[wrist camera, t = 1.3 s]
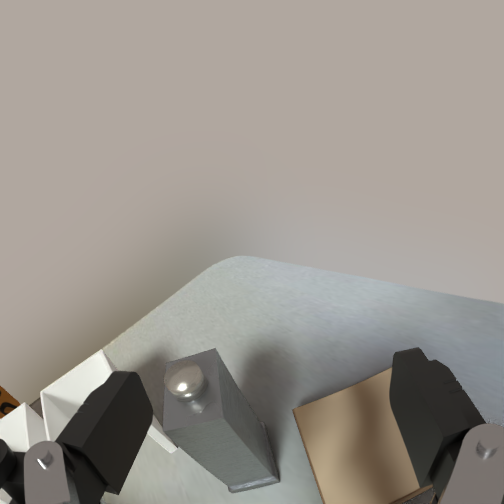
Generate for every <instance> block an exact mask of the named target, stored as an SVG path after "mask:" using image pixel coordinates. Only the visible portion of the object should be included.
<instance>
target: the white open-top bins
mask: <svg viewBox="0 0 504 504" xmlns="http://www.w3.org/2000/svg"><path fill="white" fill-rule="evenodd" d="M114 371H119V370H118V369H117V368H116V367H115V365H114V364H113V363H112V362H111V360H110V359H109V358H108V357H107V355H106V354H105V353H104V352H103V350H102V349H101V350H99V351H98V352H97V353H95V354H94V355H92V356H91V357H89V358H88V359H86V360H85V361H84V362H82V363H81V364H79V365H78V366H76V367H75V368H74V369H72V370H71V371H69V372H68V373H66V374H65V375H63V376H62V377H61V378H59V379H58V380H57V381H55V382H53V383H52V384H50V385H49V386H47V387H46V388H45V389H43V390H42V391H41V392H40V396H41V404H42V411H43V418H44V420H43V419H42V418H41V417H40V416H39V415H38V414H37V413H36V412H35V411H34V410H33V409H32V408H31V407H30V406H29V405H28V404H27V403H25V402H24V403H23V404H22V405H20V406H19V407H17V408H16V409H14V410H13V411H12V412H10V413H9V414H7V415H6V416H4V417H3V418H2V419H0V439H2V440H4V441H5V442H6V443H7V445H8V446H9V447H10V449H11V450H12V451H15V452H27V451H28V450H29V448H30V447H32V446H33V445H34V444H36V443H38V442H41V441H55V440H56V439H57V437H58V436H59V435H60V433H61V432H62V431H63V429H64V428H65V426H66V425H67V424H68V422H69V421H70V420H71V418H72V417H73V416H74V414H75V413H77V410H78V409H79V407H80V406H81V405H83V402H84V401H85V399H86V398H87V397H88V395H89V394H90V393H91V392H92V391H93V390H95V389H96V388H98V387H99V386H100V385H102V384H104V383H105V381H106V380H107V379H108V377H109V376H110V375H111V373H112V372H114ZM147 434H148V435H149V436H151V437H152V438H153V439H154V440H155V441H156V442H157V443H159V444H160V445H161V446H162V447H163V448H164V449H166V450H167V451H168V452H169V453H170V454H171V453H173V452H174V451H176V450H177V449H178V448H177V447H176V446H175V444H174V443H173V442H172V440H171V439H170V438H169V437H168V436H167V435H166V434H165V433H164V432H163V428H162V426H161V425H160V423H159V422H158V420H157V419H156V417H155V416H154V414H153V420H152V424H151V426H150V428H149V430H148V432H147ZM11 499H12V498H11V497H10V496H9V495H8V494H7V493H6V492H5V491H4V490H3V489H2V488H1V489H0V504H9V503H10V501H11Z"/></svg>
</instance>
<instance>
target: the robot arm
mask: <svg viewBox="0 0 504 504" xmlns="http://www.w3.org/2000/svg"><path fill="white" fill-rule="evenodd" d="M389 400H390V406H391V409H392V412H393V415H394V417H395V420H396V422H397V425H398V428H399V430H400V433H401V436H402V438H403V441H404V444H405V446H406V449H407V452H408V455H409V457H410V460H411V463H412V466H413V469H414V472H415V475H416V478H417V481H418V484H419V487H420V488H423V487H426V486H429V485H432V484H433V487H434V490H435V494H434V496H433V498H432V500H431V502H430V504H504V428H503V427H502V426H499V425H497V424H489V423H488V424H487V423H486V422H485V421H484V419H483V418H482V416H481V415H480V413H479V412H478V410H477V408H476V407H475V405H474V404H473V402H472V401H471V399H470V398H469V396H468V395H467V394H466V392H465V391H464V390H462V386H461V385H460V383H459V382H458V381H456V378H455V376H454V375H453V373H452V372H451V371H450V369H449V368H448V367H447V366H445V365H443V364H442V363H440V362H439V361H437V360H432V361H428V359H427V358H426V356H425V355H424V353H423V352H422V350H421V349H420V348H413V349H408V350H404V351H399V352H395V354H394V357H393V365H392V373H391V381H390V388H389ZM152 420H153V409H152V406H151V403H150V401H149V399H148V396H147V394H146V392H145V389H144V387H143V384H142V382H141V379H140V377H139V375H138V374H137V373H136V372H126V371H114V372H112V373H111V375H110V376H109V377H108V379H107V380H106V381H105V383H104V384H102V385H100V386H99V387H98V388H96V389H95V390H93V391H92V392H91V393H90V394H89V395H88V397H87V398H86V399H85V401H84V402H83V405H81V406H80V407H79V409H78V410H77V413H75V414H74V416H73V417H72V418H71V420H70V421H69V422H68V424H67V425H66V426H65V428H64V429H63V431H62V432H61V433H60V435H59V436H58V437H57V439H56V440H55V441H41V442H38V443H36V444H34V445H33V446H32V447H30V448H29V450H28V451H27V452H15V451H12V450H11V449H10V447H9V446H8V445H7V443H6V442H5V441H4V440H2V439H0V489H1V488H2V489H3V490H4V491H5V492H6V493H7V494H8V495H9V496H10V497H11V498H12V499H11V501H10V503H9V504H106V502H105V500H104V499H103V498H102V496H103V494H104V492H105V491H106V492H109V493H113V494H117V495H119V493H120V491H121V489H122V487H123V484H124V482H125V480H126V478H127V476H128V473H129V471H130V469H131V467H132V465H133V462H134V460H135V458H136V456H137V454H138V452H139V449H140V447H141V445H142V443H143V441H144V439H145V437H146V434H147V432H148V430H149V428H150V426H151V424H152Z"/></svg>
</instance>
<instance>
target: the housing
mask: <svg viewBox="0 0 504 504" xmlns="http://www.w3.org/2000/svg"><path fill="white" fill-rule="evenodd" d="M164 384H165V388H164V408H163V432H164V433H165V434H166V435H167V436H168V437H169V438H170V439H171V440H172V441H174V442H175V443H176V444H177V445H178V446H179V447H180V448H181V449H182V450H184V451H185V452H186V453H187V454H188V455H189V456H191V457H192V458H193V459H194V460H195V461H197V462H198V463H199V464H200V465H201V466H203V467H204V468H205V469H206V470H208V471H209V472H210V473H211V474H213V475H214V476H215V477H217V478H218V479H219V480H221V481H222V482H223V483H225V484H226V485H227V486H228V490H229V491H230V492H231V493H237V492H242V491H246V490H251V489H255V488H260V487H264V486H268V485H271V484H275V483H279V482H280V481H279V477H278V473H277V469H276V465H275V461H274V457H273V453H272V449H271V445H270V441H269V437H268V433H267V429H266V425H265V424H264V422H260V421H259V420H258V418H257V417H256V415H255V413H254V412H253V410H252V409H251V407H250V405H249V404H248V402H247V401H246V399H245V397H244V396H243V394H242V392H241V391H240V389H239V388H238V386H237V384H236V383H235V381H234V379H233V378H232V376H231V374H230V372H229V371H228V369H227V367H226V366H225V364H224V362H223V361H222V359H221V357H220V355H219V354H218V352H217V350H216V348H214V349H211V350H208V351H205V352H201V353H198V354H195V355H192V356H188V357H185V358H182V359H178V360H175V361H172V362H168V363H166V371H165V376H164Z"/></svg>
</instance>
